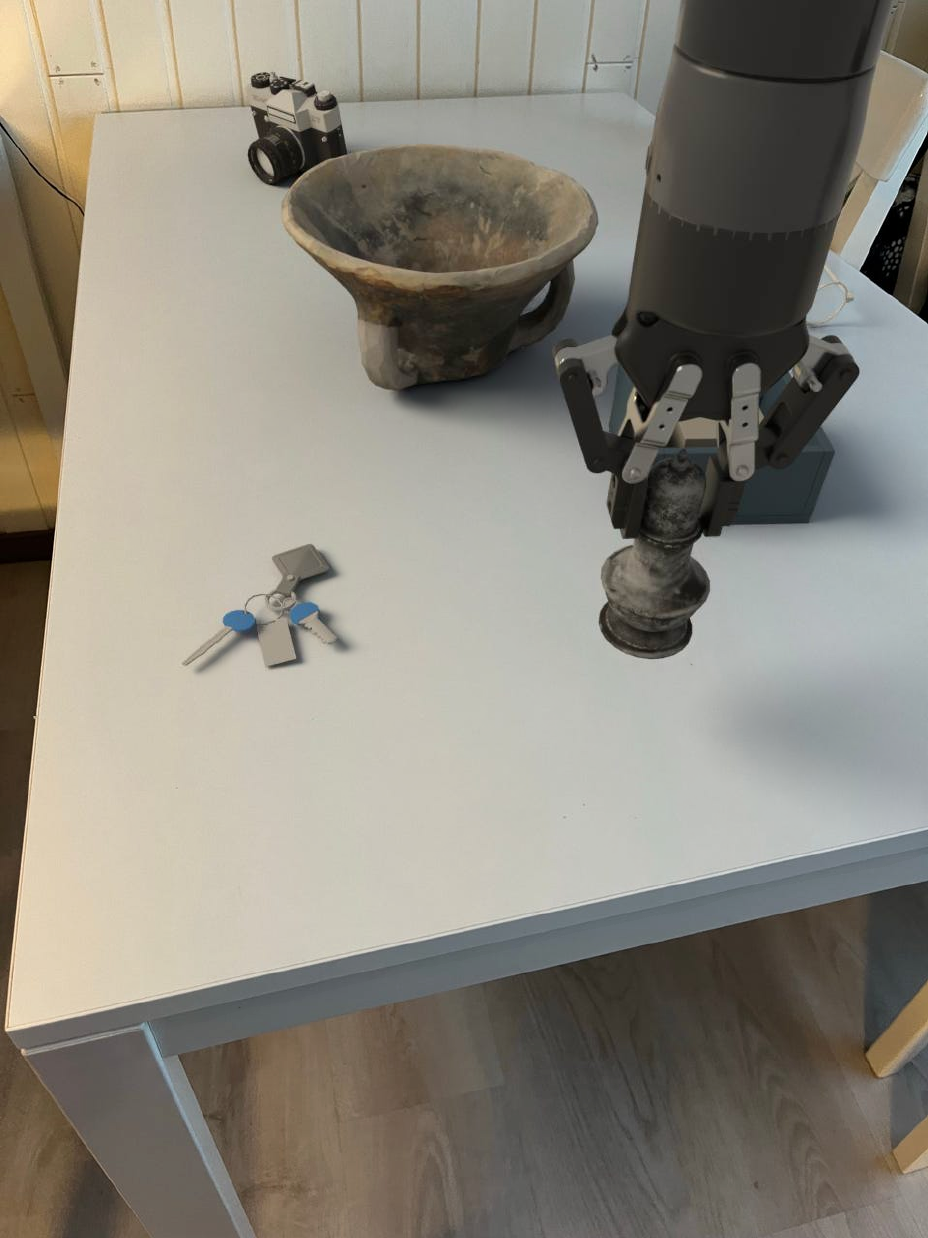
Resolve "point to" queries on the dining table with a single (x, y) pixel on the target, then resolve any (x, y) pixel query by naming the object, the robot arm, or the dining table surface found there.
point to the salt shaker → (658, 567)
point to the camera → (292, 126)
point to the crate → (768, 488)
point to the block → (696, 433)
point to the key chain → (279, 610)
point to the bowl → (442, 253)
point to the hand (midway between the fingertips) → (667, 526)
